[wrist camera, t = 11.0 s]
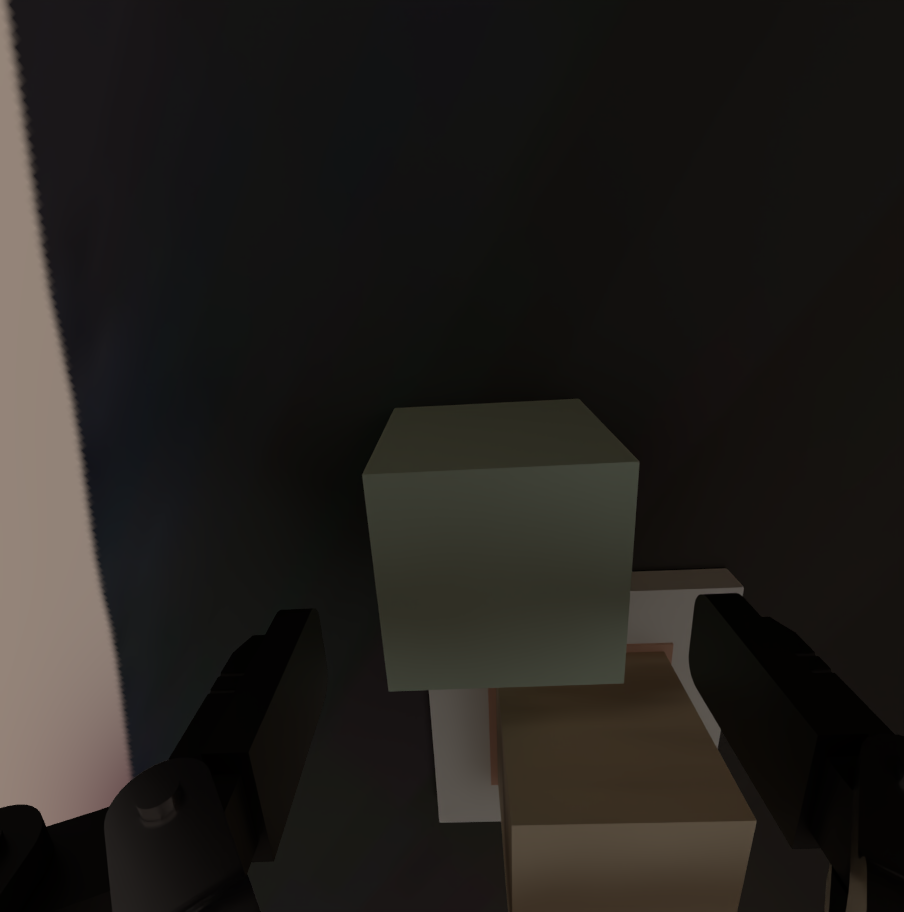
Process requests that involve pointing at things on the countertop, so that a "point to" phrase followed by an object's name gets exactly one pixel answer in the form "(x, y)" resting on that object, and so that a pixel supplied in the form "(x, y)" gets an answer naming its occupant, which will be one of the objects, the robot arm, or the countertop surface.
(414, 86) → the countertop surface
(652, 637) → the plate
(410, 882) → the countertop surface
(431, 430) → the green block
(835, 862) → the robot arm
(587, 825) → the beech block
